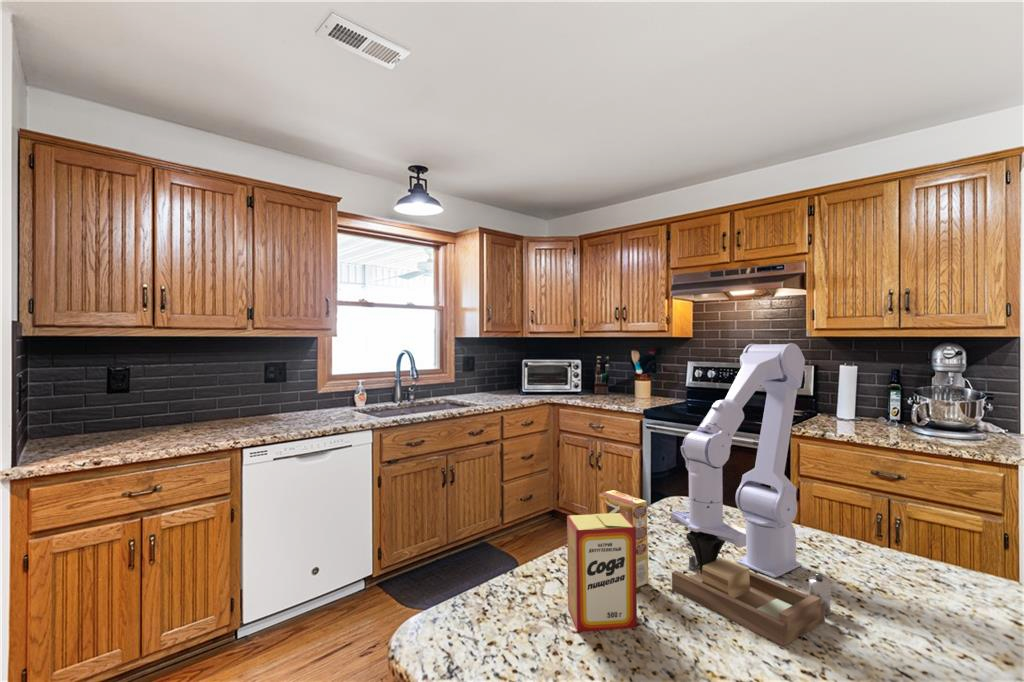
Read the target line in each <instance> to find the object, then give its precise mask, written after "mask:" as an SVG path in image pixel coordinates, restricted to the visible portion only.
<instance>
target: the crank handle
mask: <svg viewBox="0 0 1024 682" xmlns="http://www.w3.org/2000/svg"><path fill="white" fill-rule="evenodd" d="M697 568H699V566H698V562H697V559H696V556H695V554H689V555H688V571H689V570H690V571H693V572H695V570H696V569H697Z"/></svg>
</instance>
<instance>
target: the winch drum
mask: <svg viewBox="0 0 1024 682" xmlns="http://www.w3.org/2000/svg"><path fill="white" fill-rule="evenodd" d="M823 574H824V573H821V572H815V575H810V576H809V577H808V596H811V595H815V596H817V597H820V598H821V601H823V602H825V617H826V616H830V615H831V581H830V580H829V579H828V578H825V577H824V576H823Z"/></svg>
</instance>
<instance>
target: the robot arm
mask: <svg viewBox="0 0 1024 682" xmlns="http://www.w3.org/2000/svg"><path fill="white" fill-rule="evenodd" d="M739 365H740V369H739V371H738V372H737V375H736V377H735V378H734V380H733V382H732V385H731V386H730V387H729V390H728V392H727V394H726V396H725V398H724V399H719V400H715V402H713V404H712V405H711V408H710V409H709V411H708V412H707V414H706V416H705V417H704V418H703V420H702V421H701V422H700V424H699V426H698V427H697V429H696V430H693V431H691V432H689V433H687V434H686V435H685V437H684V439H683V440H682V445H681V446H680V451H681V455H682V457H683V458H684V461H685V468H686V470H687V471H688V512H689V513H688V512H684V511H683V512H682V511H680V510H674V511H670V523H672V524H679V525H682V526H684V527H687V530H688V531H689V532H688V533H686V539H687V540H688V541H687V542H688V543H689V544H690V546H691V548H692V551H693V553H694V556H695V557H696V559H697V562H698V570H699V573H700V574H702V569H703V565H706V564H708V563H711V562H714V561H716V559H717V558H718V555H719V554H720V551H721V550H722V548H723V547H724V545H725V543H727V542H728V543H730V544H732V545H734V547H736V548H739V549H740V548H743V547H745V556H743V557H741V558H739V559H736V563H738V564H741V565H743V566H745V567H748V568H749V569H752V570H753V571H756V572H758V573H761V574H763V575H765V576H766V575H767V576H769V577H771V578H775V579H776V578H779V577H780V576H782V575H784V574H787V573H789V572H790V571H793V570H795V569H798V568H799V567H801V566H802V564H801V562H799V561H797V533H796V529H795V527H794V525H793V524H792V523H793V521H794V520H795V518H796V517H797V513H798V503H797V490H798V489H797V487H796V486H795V485H794V484H793V483H792V481H790V479H789V478H788V477H787V476H786V475H785V470H786V465H787V458H788V451H789V445H790V439H791V434H792V433H791V431H792V426H793V421H794V420H793V419H794V414H795V413H794V412H795V407H796V399H797V394H798V389H801V387H802V383H803V377H804V371H805V365H806V359H805V357H804V354H803V352H802V350H801V348H800V346H798V344H796V343H787V344H786V343H782V344H779V343H777V344H776V343H774V344H770V343H769V344H763V343H761V344H756V343H750V344H749V343H748V345H746V346H745V348H744V349H743V351H742V353H741V354H740V356H739ZM760 386H761V387H763V389H764V390H765V392H766V397H765V404H764V411H763V417H762V422H761V428H760V434H759V440H758V446H757V450H756V458H755V465H754V468H752V469H751V470H749V471H747V472H745V473H744V474H742V477H741V482H740V483H739V486H738V487H737V489H736V492H735V504H736V507H737V509H738V510H739V511H740V512H742V513H741V515H742V516H741V517H743V518H744V519H745V533H744V532H741V531H739V530H737V529H735V528H733V527H732V526H731V525H728V524H726V523H725V522H724V503H723V501H724V498H723V497H724V496H723V491H724V490H723V466H725V464H726V463H727V461H729V458H730V454H731V446H732V445H733V440H732V439H733V436H734V435H735V433H736V432H737V431H738V429H739V428H740V427H741V424H742V422H743V421H744V419H745V412H744V411H743V408H744V407H745V405H746V404H747V402H749V400H750V399H751V397H752V396H753V395H754V394H755V392H756V391H757V390H758V388H759V387H760ZM762 484H763V485H762ZM764 485H767V486H771V487H773V488H771V487H767V486H764Z"/></svg>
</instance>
